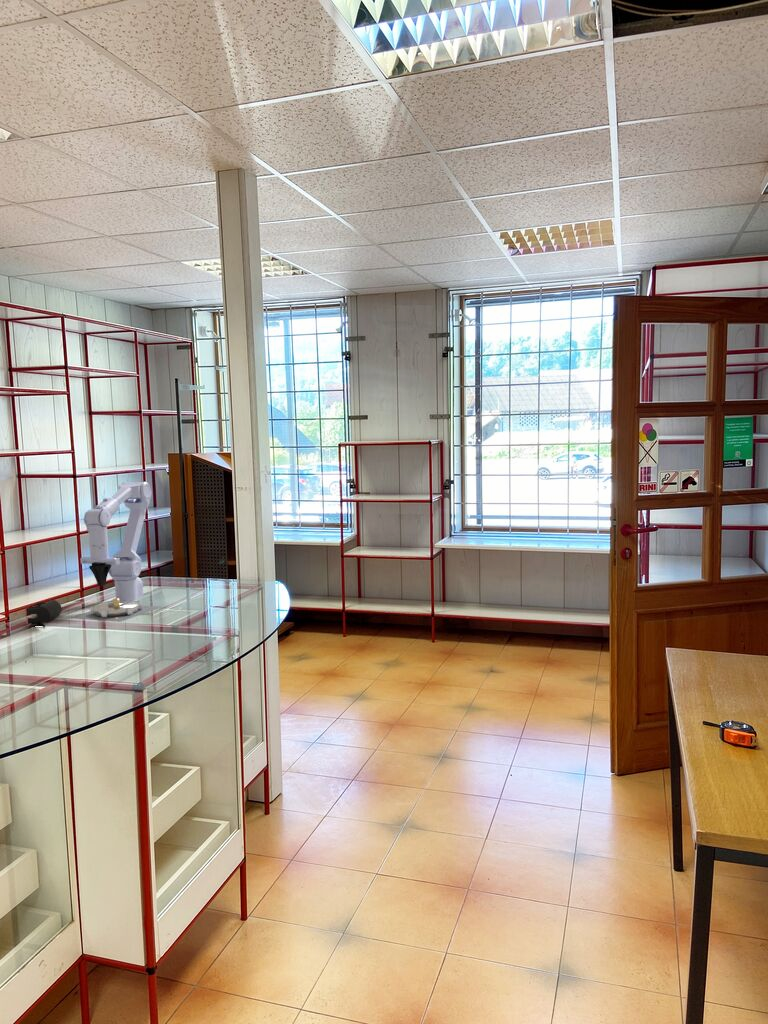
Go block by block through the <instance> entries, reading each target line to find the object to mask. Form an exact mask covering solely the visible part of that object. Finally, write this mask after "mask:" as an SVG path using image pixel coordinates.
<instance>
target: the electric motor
mask: <svg viewBox="0 0 768 1024" xmlns="http://www.w3.org/2000/svg"><path fill="white" fill-rule="evenodd" d="M62 608H63V607H62V605H61V604H60V602H59V601H57V600H54V599H50V600H48V601H45V602H44V601H42V602H36V603H34V605H33V606H32V605H31V606H29V607H28V608H26V615H27V616H28V615H36V617H30V618H29V617H28V618H27V624H29V625H28V628H29V627H35V626H44V627H46V626H45V625H46V624H47V623H50V622H51V621H53V620H54V619H55V618H58V617H59V616H60V615H61V613H62Z"/></svg>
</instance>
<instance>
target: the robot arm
mask: <svg viewBox="0 0 768 1024" xmlns="http://www.w3.org/2000/svg"><path fill="white" fill-rule="evenodd" d="M150 485H151V484H149V482H148V481H141V482H138V481H137V482H135V481H134V482H121V483H120V484H119V485H118V489H117V490H116V492H115V493H114V494H113V496H112V497H104V498H103V499H102V501H101V502H100V503H99V504H97V505H95V507H94V508H91V509H88V510H86V512H85V513H84V515H83V516H84V517H83V522H84V525H85V528H86V531H87V532H88V540H89V541H88V542H89V555H90V556H88V557H87V556H85V557H80V564H81V565H85V564H91V565H89V567H88V568H89V570H90V571H91V572H92V574H93V576H94V578H95V580H96V583H97V586H98V587H103V586H106V585H107V583H106V582H107V578H108V575H109V576H110V577H111V578H112V580H113V581H114V590H115V591H114V593H115V598H119V599H120V601H124V600H130V601H136V600H138V599H140V598H141V599H142V598H143V597H144V583H143V580H142V579H141V578H140V577H139V576H140V574H141V571H142V558H141V557H140V556H139V555H138V553H137V549H138V545H139V541H140V537H141V534H142V529H143V525H144V521H145V516H146V513H147V508H148V507H149V506H150V502H151V498H152V494H153V493H152V488H151V486H150ZM121 504H124V506H125V508H128V509H129V511H130V512H129V515H128V518H127V523H126V527H125V530H124V534H123V535H124V536H123V539H122V543H121V545H120V550H119V551H117V552H115V554H113V555H112V557H111V556H110V551H109V539H108V526H109V525H110V522H111V519H112V518H113V517H112V516H114V515H115V514H116V513H117V512H118V511H119V509H120V505H121Z"/></svg>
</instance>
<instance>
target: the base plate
mask: <svg viewBox="0 0 768 1024" xmlns="http://www.w3.org/2000/svg"><path fill="white" fill-rule="evenodd" d="M160 608H161V606H152V605H142V609H139V610H138V611H137V612H134V613H133V614H129V615H121V616H110V617H102V616H96V615H94V614H93V615H91V610H89V611H88V612H84V613H81V614H77V615H74V616H71V617H70V619H77V620H89V621H90V620H92V621H106V622H124V621H127V620H129V619H132V618H134V617H137V616H140V615H144V614H146V613H149V612H151V611H154V610H157V609H160Z"/></svg>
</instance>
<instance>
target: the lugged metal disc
mask: <svg viewBox="0 0 768 1024" xmlns="http://www.w3.org/2000/svg"><path fill="white" fill-rule="evenodd" d="M142 606H143V605H142V602H141V601H136V600H133V601H130V600H124V601H120V599H119V598H116V597H114V598H112V601H108V602H107V601H104V602H103V601H102V602H100V603H99V604H96V605H94V606H91V607H90V611H91V615H93V614H94V615H96V616H102V617H110V616H121V615H129V614H133V613H134V612H137V611H138V610H139V609H142Z"/></svg>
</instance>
